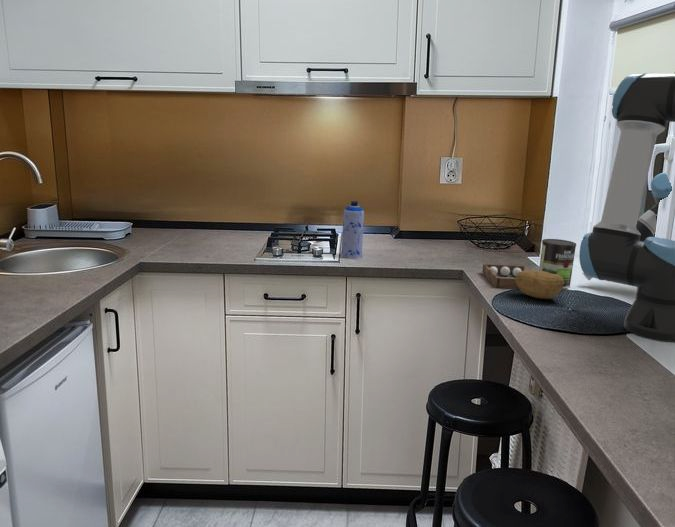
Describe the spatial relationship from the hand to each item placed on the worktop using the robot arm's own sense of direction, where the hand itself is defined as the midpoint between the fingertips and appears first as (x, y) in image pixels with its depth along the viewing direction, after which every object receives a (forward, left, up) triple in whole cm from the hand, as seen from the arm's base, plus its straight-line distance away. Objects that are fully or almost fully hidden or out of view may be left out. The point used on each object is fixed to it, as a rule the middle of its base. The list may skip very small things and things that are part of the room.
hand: (585, 276), depth 201 cm
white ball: (+9, +20, -3) cm, 22 cm away
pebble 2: (+9, +24, -3) cm, 25 cm away
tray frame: (+2, +24, -3) cm, 24 cm away
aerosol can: (+27, +75, -3) cm, 79 cm away
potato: (-17, +21, -3) cm, 27 cm away
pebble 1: (+9, +28, -3) cm, 29 cm away
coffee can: (0, +10, -3) cm, 11 cm away
